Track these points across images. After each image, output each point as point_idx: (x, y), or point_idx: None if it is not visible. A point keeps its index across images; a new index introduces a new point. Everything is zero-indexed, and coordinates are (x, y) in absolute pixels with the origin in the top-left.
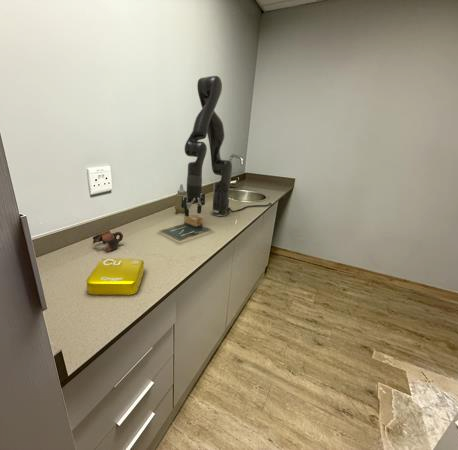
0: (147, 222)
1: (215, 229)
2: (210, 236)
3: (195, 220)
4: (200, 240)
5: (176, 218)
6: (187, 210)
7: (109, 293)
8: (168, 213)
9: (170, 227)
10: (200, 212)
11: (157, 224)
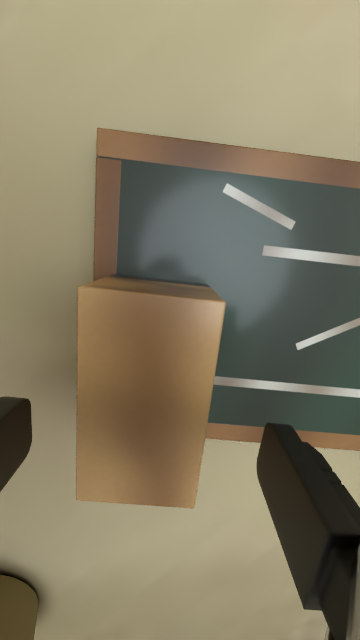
0: None
1: (27, 164)
2: (211, 77)
3: (223, 305)
4: (356, 90)
5: (110, 549)
6: (344, 524)
7: None
8: (82, 635)
9: (326, 447)
10: (3, 403)
11: None
